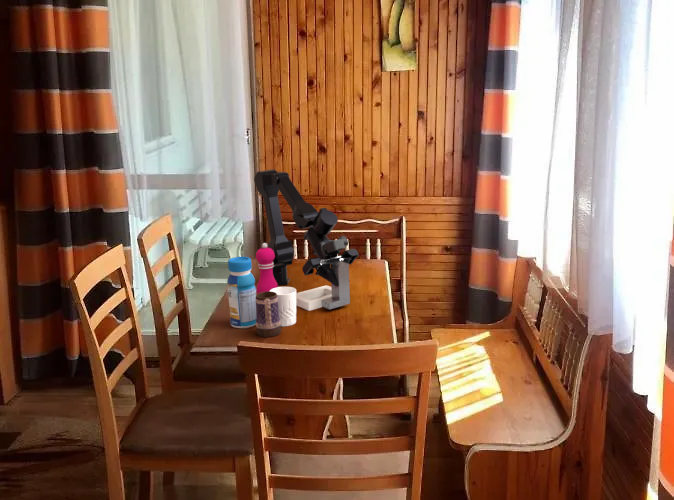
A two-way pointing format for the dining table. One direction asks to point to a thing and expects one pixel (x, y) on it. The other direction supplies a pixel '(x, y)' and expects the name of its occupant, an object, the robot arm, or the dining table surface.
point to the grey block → (339, 286)
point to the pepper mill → (265, 269)
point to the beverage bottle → (241, 293)
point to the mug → (267, 314)
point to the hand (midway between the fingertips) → (343, 284)
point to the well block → (305, 297)
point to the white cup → (286, 304)
